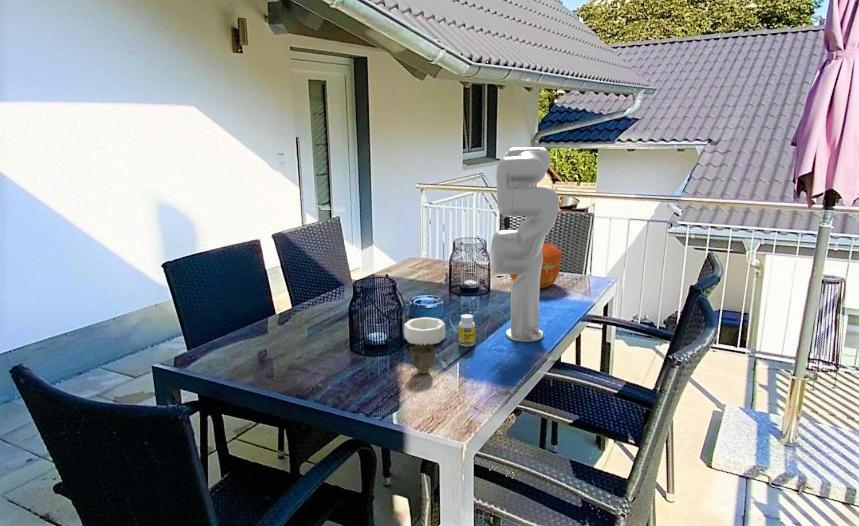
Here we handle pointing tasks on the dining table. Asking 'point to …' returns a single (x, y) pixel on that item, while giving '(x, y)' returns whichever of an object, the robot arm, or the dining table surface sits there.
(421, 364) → the cup
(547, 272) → the pumpkin
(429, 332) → the white round bowl
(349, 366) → the dining table surface
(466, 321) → the supplement bottle
